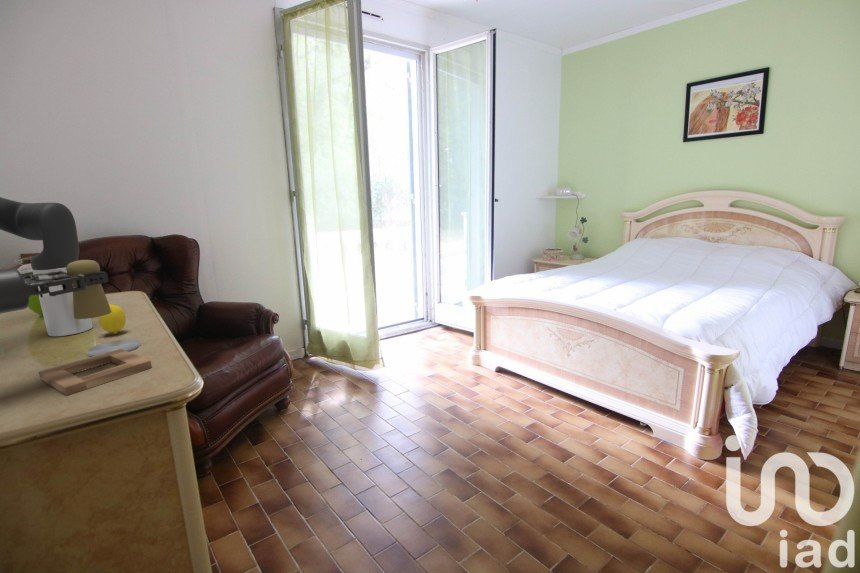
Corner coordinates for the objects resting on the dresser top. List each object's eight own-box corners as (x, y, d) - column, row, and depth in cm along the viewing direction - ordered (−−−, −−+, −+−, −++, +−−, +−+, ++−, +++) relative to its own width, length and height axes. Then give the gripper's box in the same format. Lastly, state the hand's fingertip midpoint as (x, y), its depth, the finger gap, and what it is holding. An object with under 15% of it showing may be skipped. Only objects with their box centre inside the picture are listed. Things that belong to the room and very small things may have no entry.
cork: (82, 320, 84) (69, 264, 81) (68, 316, 87) (56, 262, 84) (117, 312, 89) (106, 259, 86) (103, 309, 92) (92, 257, 89)
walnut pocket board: (40, 378, 85) (38, 371, 84) (121, 355, 96) (120, 348, 96) (66, 395, 77) (65, 387, 77) (151, 367, 88) (150, 360, 88)
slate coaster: (80, 352, 99) (79, 349, 99) (129, 338, 107) (129, 336, 107) (98, 360, 93) (97, 357, 93) (148, 345, 101) (148, 343, 101)
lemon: (114, 337, 108) (108, 306, 106) (96, 337, 109) (89, 306, 107) (133, 330, 113) (127, 301, 112) (116, 330, 115) (109, 300, 113)
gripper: (-8, 276, 70) (113, 259, 84) (-32, 269, 78) (83, 255, 91) (3, 320, 72) (120, 297, 85) (-20, 309, 79) (90, 289, 93)
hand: (100, 275), depth 88 cm, fingers closed on cork, 5 cm apart
